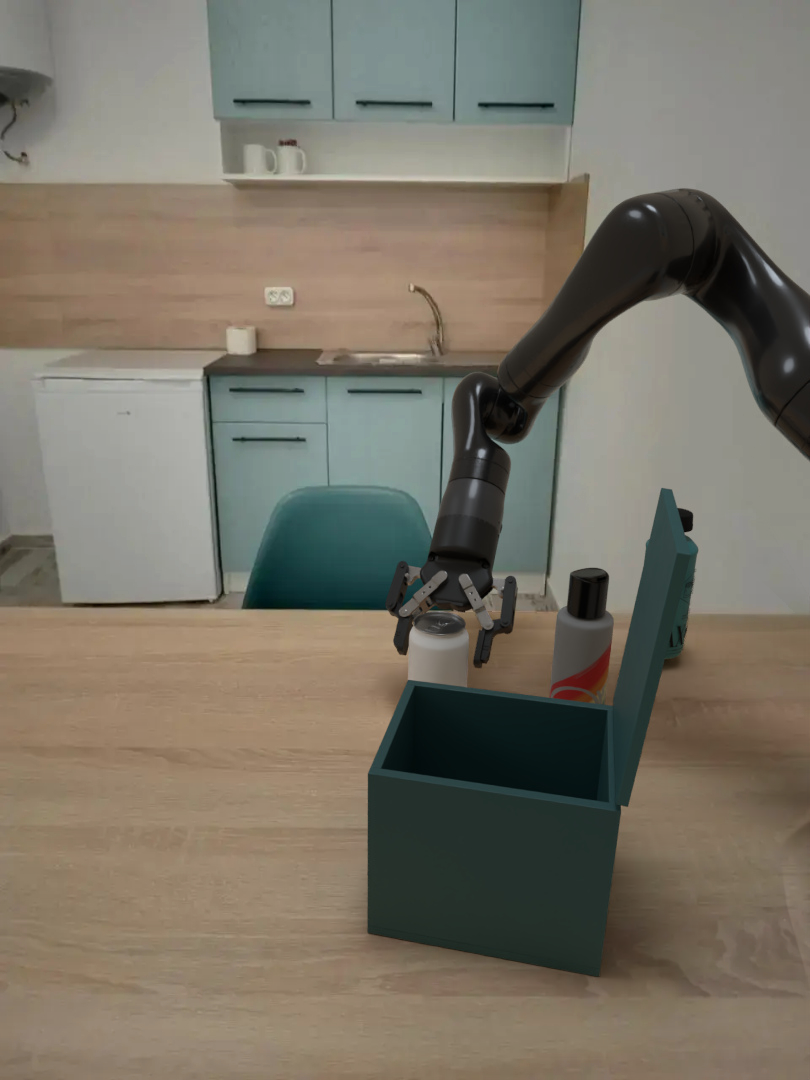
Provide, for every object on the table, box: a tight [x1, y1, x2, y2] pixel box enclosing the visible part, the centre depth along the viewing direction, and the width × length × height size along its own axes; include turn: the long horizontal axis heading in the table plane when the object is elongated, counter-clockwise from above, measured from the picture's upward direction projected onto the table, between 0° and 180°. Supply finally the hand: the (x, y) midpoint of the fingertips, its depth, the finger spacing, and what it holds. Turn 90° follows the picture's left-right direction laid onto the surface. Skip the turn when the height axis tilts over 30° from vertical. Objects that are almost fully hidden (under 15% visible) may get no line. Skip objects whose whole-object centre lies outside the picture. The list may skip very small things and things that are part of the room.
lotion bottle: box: [548, 567, 615, 705], centre depth 85 cm, size 6×6×20 cm
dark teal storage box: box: [366, 679, 622, 978], centre depth 66 cm, size 18×14×15 cm
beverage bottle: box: [643, 507, 699, 660], centre depth 103 cm, size 6×7×20 cm
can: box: [407, 610, 470, 687], centre depth 90 cm, size 6×6×12 cm
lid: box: [612, 487, 691, 808], centre depth 58 cm, size 18×14×1 cm
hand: (438, 659), depth 90 cm, fingers open, 8 cm apart
